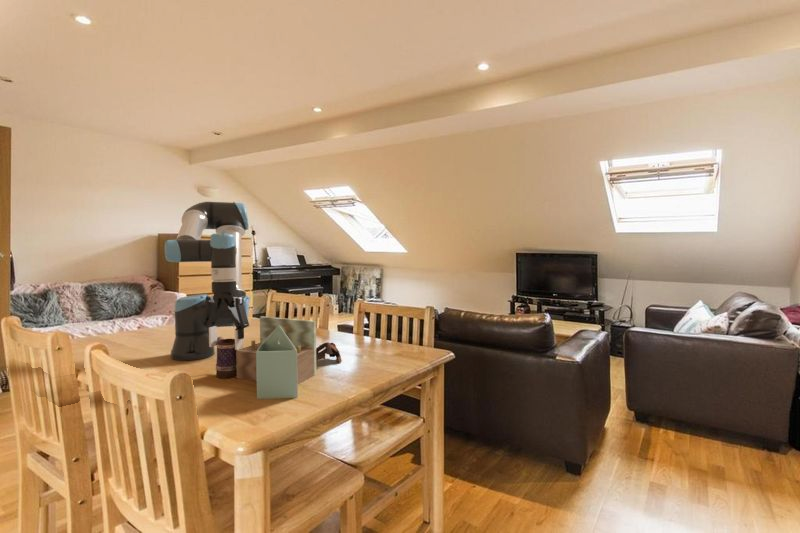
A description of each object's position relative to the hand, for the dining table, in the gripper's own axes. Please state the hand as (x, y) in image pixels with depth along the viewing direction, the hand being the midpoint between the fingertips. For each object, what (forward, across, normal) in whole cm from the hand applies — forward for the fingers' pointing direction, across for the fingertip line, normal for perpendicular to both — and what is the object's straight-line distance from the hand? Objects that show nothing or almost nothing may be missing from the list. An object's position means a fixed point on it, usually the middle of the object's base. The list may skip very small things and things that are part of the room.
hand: (226, 347), depth 138 cm
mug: (+9, 0, 0) cm, 9 cm away
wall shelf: (+9, +16, +5) cm, 20 cm away
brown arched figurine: (+10, +23, +26) cm, 36 cm away
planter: (+10, +25, -9) cm, 28 cm away
